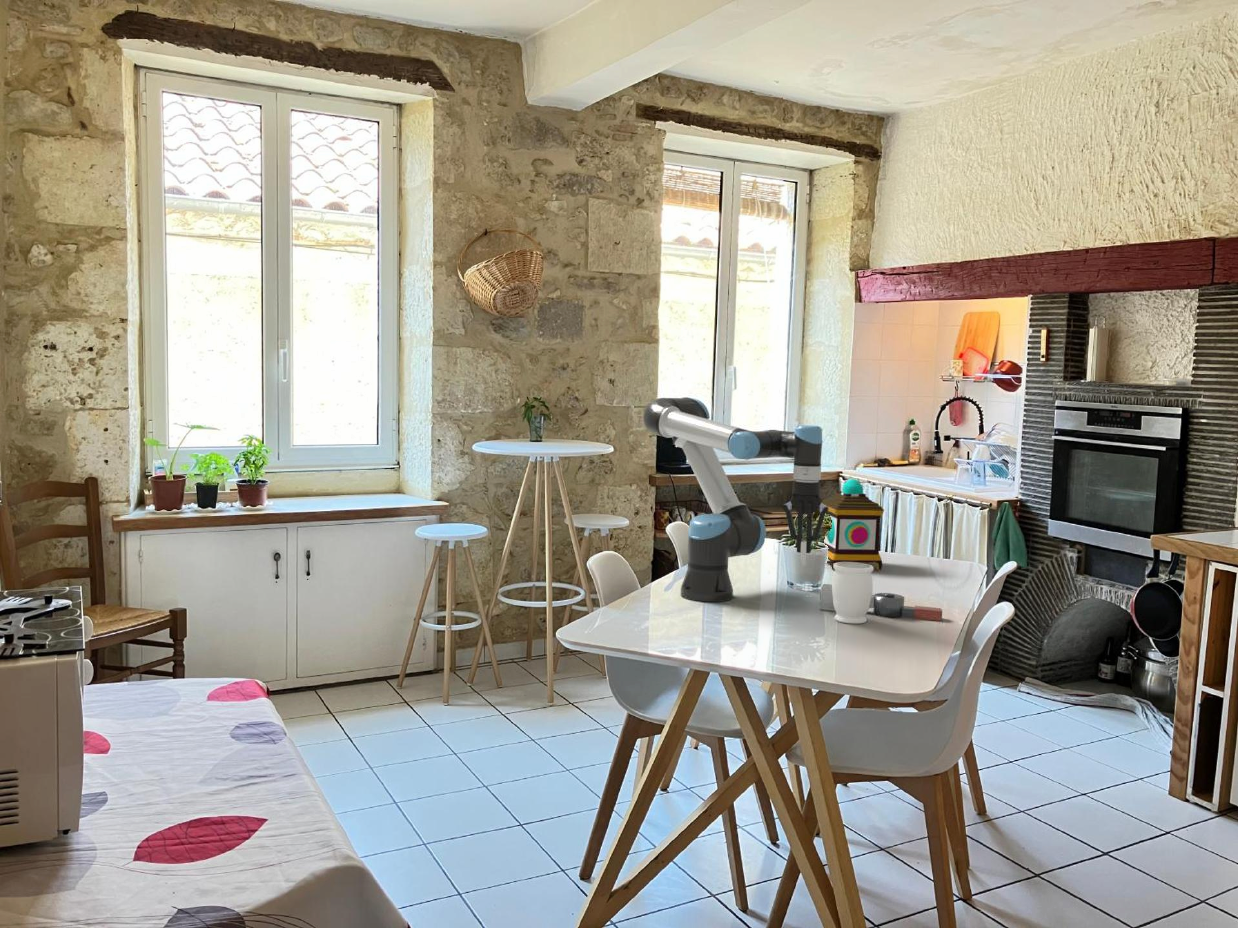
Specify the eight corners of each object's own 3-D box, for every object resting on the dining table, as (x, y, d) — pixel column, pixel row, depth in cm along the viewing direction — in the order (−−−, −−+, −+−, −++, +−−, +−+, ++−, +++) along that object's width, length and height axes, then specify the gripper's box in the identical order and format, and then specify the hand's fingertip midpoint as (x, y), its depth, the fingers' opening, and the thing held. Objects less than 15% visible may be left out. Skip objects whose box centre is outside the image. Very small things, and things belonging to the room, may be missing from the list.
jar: (847, 627, 256) (850, 570, 255) (822, 617, 265) (825, 562, 264) (879, 623, 261) (882, 567, 260) (852, 613, 270) (855, 560, 269)
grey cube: (818, 609, 274) (820, 587, 273) (821, 604, 280) (822, 583, 279) (842, 611, 272) (843, 590, 271) (843, 606, 278) (845, 585, 277)
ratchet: (857, 614, 270) (858, 594, 269) (859, 608, 277) (860, 588, 277) (941, 623, 263) (943, 602, 263) (941, 616, 271) (942, 596, 270)
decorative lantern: (811, 559, 347) (815, 474, 344) (865, 560, 350) (870, 476, 347) (829, 571, 328) (834, 481, 325) (887, 571, 330) (892, 482, 327)
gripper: (781, 480, 273) (778, 564, 275) (829, 483, 269) (825, 568, 271) (785, 478, 280) (782, 560, 283) (831, 480, 276) (828, 563, 279)
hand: (803, 564), depth 277 cm, fingers closed
